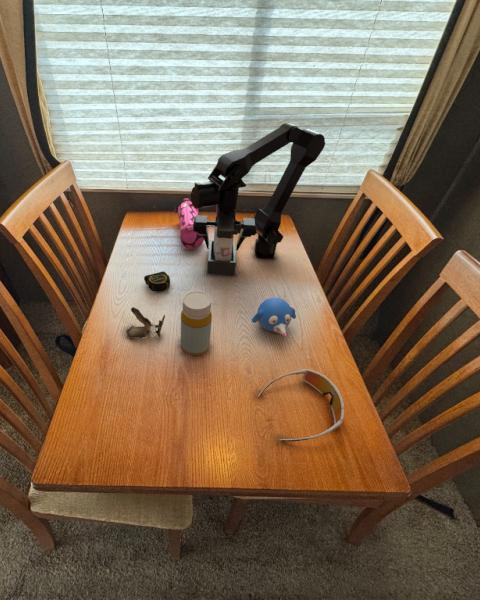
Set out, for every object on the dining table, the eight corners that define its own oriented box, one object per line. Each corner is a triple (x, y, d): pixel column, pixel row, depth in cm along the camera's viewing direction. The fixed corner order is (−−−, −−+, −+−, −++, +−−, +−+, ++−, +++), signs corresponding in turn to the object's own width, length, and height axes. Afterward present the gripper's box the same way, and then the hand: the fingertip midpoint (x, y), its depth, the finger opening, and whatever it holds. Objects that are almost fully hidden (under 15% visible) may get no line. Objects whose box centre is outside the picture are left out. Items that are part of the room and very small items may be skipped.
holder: (233, 253, 110) (235, 241, 107) (234, 275, 101) (236, 262, 98) (208, 252, 111) (209, 239, 107) (207, 274, 101) (208, 261, 98)
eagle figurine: (165, 318, 84) (132, 309, 84) (165, 312, 78) (129, 302, 77) (157, 346, 82) (123, 337, 82) (157, 343, 76) (120, 333, 75)
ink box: (212, 254, 109) (214, 222, 101) (226, 253, 109) (230, 222, 101) (215, 268, 102) (217, 236, 94) (230, 268, 102) (234, 235, 95)
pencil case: (174, 222, 127) (173, 197, 120) (198, 221, 128) (199, 197, 121) (178, 251, 111) (178, 225, 104) (206, 250, 112) (207, 224, 105)
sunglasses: (353, 429, 63) (359, 417, 60) (284, 455, 61) (286, 445, 58) (313, 372, 74) (317, 359, 70) (253, 393, 72) (253, 381, 68)
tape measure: (165, 278, 99) (165, 268, 97) (173, 291, 95) (173, 281, 92) (144, 283, 97) (143, 273, 95) (151, 297, 92) (150, 287, 90)
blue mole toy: (258, 350, 78) (264, 326, 73) (244, 317, 87) (249, 293, 81) (304, 345, 80) (314, 321, 74) (286, 312, 89) (293, 289, 83)
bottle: (212, 339, 81) (217, 293, 71) (204, 359, 76) (207, 314, 66) (186, 332, 82) (187, 286, 73) (176, 352, 77) (176, 306, 68)
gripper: (192, 213, 86) (191, 261, 97) (262, 217, 85) (253, 265, 96) (195, 196, 95) (193, 242, 105) (258, 199, 94) (251, 245, 104)
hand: (222, 249), depth 102 cm, fingers open, 9 cm apart
